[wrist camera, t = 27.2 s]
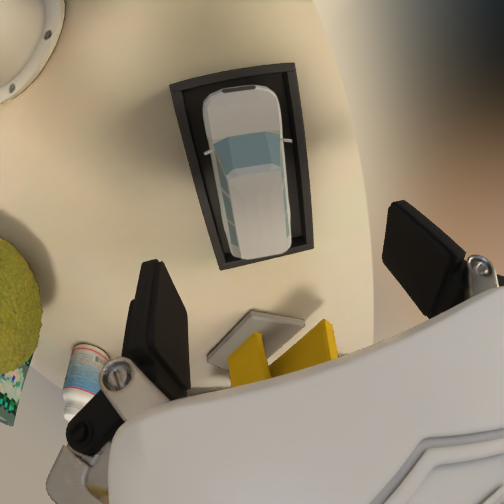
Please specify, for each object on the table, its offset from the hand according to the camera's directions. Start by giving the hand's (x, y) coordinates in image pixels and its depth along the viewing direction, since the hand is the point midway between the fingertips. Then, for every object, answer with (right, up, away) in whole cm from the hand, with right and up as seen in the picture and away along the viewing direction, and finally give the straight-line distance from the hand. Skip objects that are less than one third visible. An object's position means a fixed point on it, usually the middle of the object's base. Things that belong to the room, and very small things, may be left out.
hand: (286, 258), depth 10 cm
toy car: (-2, +7, +11) cm, 13 cm away
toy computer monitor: (-1, -12, +25) cm, 27 cm away
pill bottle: (-25, -15, +22) cm, 36 cm away
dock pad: (-2, +7, +12) cm, 14 cm away
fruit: (-31, -2, +13) cm, 33 cm away
